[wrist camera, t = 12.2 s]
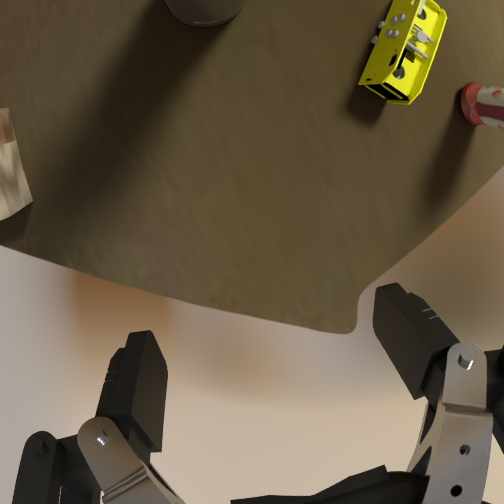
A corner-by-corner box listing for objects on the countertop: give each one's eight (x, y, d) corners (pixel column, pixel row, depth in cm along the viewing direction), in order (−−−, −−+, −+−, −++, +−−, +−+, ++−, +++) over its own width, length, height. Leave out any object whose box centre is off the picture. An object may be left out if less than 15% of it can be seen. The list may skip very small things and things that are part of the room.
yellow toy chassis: (389, -6, 27) (423, -21, 19) (421, 17, 28) (457, 8, 21) (352, 82, 33) (385, 79, 25) (387, 104, 34) (424, 107, 27)
